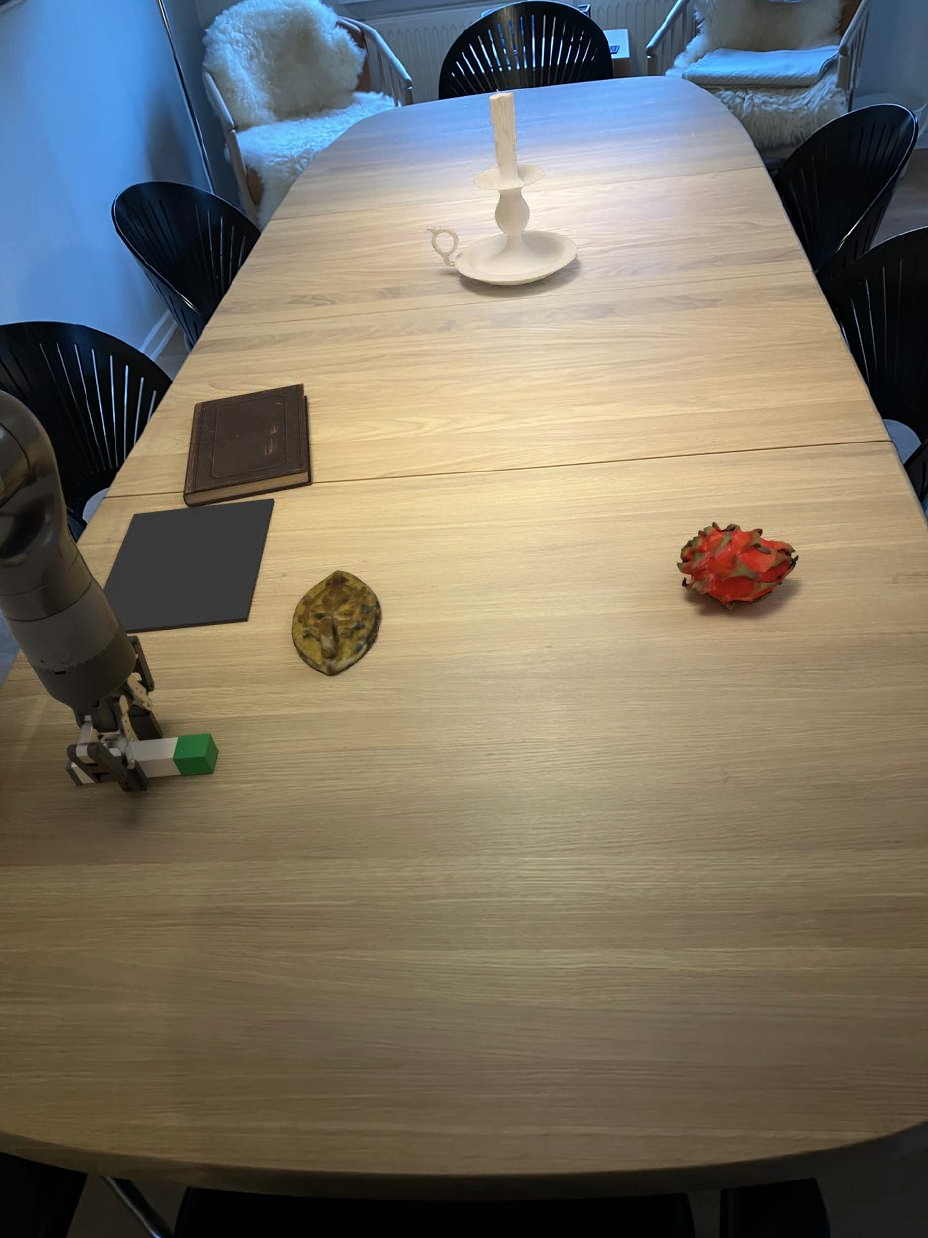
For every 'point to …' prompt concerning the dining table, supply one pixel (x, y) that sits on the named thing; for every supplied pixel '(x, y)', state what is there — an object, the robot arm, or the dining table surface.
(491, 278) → the candlestick
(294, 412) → the hardcover book
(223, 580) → the mat
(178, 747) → the marker
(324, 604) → the seal
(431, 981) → the dining table surface
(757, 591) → the dragon fruit
